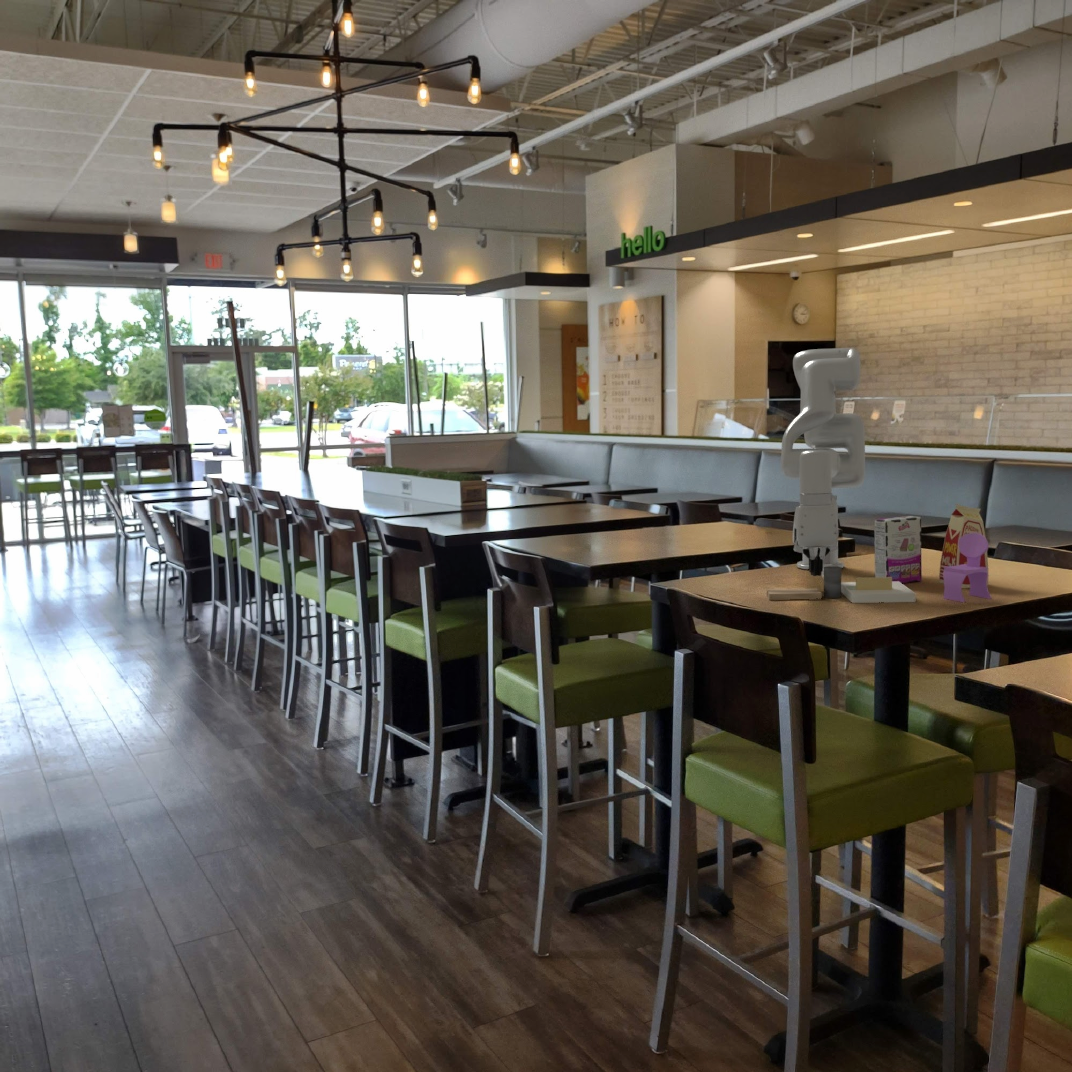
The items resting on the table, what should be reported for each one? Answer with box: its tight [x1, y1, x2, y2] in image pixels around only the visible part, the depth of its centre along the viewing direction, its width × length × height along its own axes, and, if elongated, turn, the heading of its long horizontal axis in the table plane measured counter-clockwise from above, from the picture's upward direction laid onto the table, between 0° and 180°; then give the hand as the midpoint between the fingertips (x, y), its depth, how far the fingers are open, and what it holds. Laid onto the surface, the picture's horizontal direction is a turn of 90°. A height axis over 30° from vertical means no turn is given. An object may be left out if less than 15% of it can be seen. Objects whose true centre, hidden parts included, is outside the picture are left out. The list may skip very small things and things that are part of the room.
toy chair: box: [942, 533, 993, 603], centre depth 230 cm, size 8×9×15 cm
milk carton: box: [938, 503, 990, 589], centre depth 248 cm, size 9×9×20 cm
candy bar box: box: [873, 515, 923, 584], centre depth 254 cm, size 11×5×16 cm, turn 112°
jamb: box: [766, 566, 842, 601], centre depth 240 cm, size 6×17×7 cm, turn 83°
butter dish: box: [841, 576, 916, 604], centre depth 238 cm, size 16×14×5 cm
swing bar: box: [821, 564, 833, 580], centre depth 247 cm, size 12×2×3 cm, turn 169°
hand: (815, 575), depth 248 cm, fingers closed
